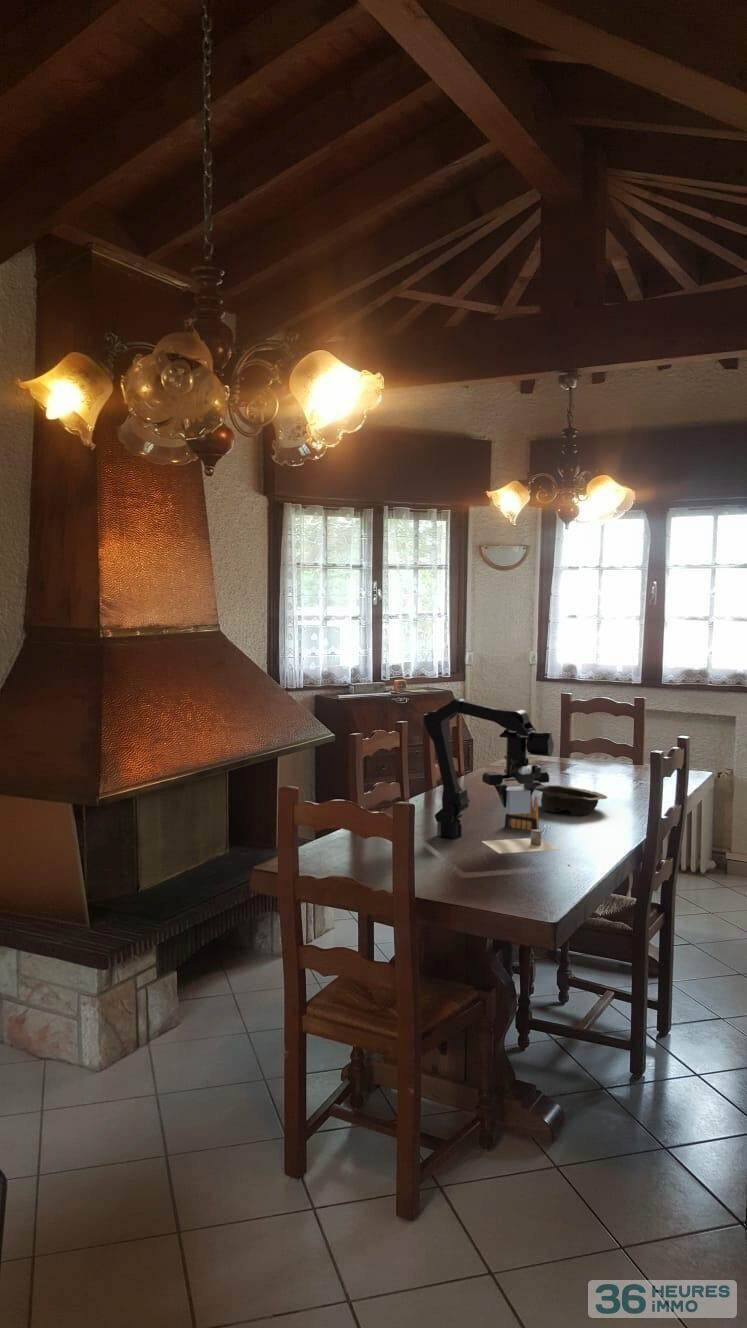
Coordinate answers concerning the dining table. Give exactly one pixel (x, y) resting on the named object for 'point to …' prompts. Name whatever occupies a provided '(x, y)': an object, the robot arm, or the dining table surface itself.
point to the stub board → (521, 844)
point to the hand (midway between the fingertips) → (515, 806)
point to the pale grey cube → (517, 800)
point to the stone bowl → (568, 799)
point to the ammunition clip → (524, 818)
